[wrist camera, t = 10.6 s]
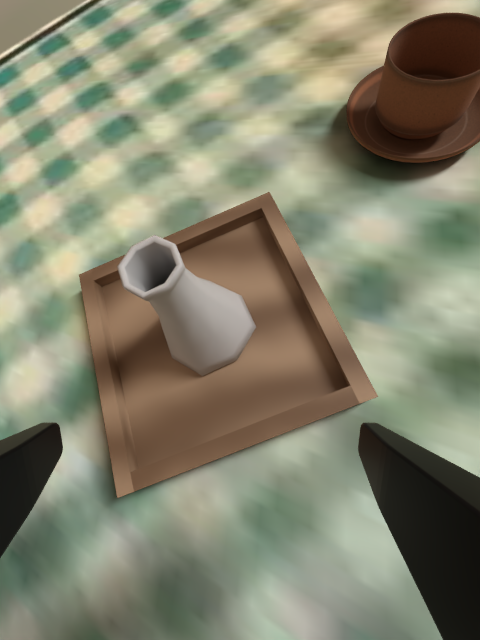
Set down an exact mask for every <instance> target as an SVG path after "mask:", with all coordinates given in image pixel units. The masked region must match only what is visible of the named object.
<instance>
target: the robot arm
mask: <svg viewBox="0 0 480 640" xmlns="http://www.w3.org/2000/svg"><path fill="white" fill-rule="evenodd" d="M62 450H63V445H62V439H61V433H60V427H59V425H58V424H57V423H40V424H38V425H36V426H33V427H31V428H29V429H26V430H24V431H22V432H19V433H17V434H14V435H12V436H10V437H7V438H5V439H3V440H0V558H1V556H2V555H3V553H4V552H5V550H6V549H7V547H8V546H9V544H10V542H11V541H12V539H13V538H14V536H15V535H16V533H17V532H18V530H19V529H20V527H21V526H22V524H23V523H24V521H25V519H26V518H27V516H28V515H29V513H30V512H31V510H32V508H33V507H34V505H35V503H36V501H37V500H38V498H39V496H40V494H41V492H42V490H43V489H44V487H45V485H46V483H47V481H48V479H49V477H50V475H51V474H52V472H53V470H54V468H55V466H56V464H57V462H58V460H59V459H60V457H61V454H62ZM358 451H359V456H360V458H361V461H362V464H363V467H364V469H365V472H366V475H367V477H368V480H369V483H370V486H371V488H372V491H373V494H374V496H375V499H376V501H377V504H378V506H379V509H380V511H381V513H382V515H383V517H384V519H385V521H386V523H387V525H388V527H389V530H390V532H391V534H392V536H393V538H394V540H395V542H396V544H397V546H398V548H399V550H400V552H401V554H402V556H403V558H404V560H405V562H406V564H407V566H408V569H409V571H410V573H411V575H412V577H413V579H414V581H415V583H416V585H417V587H418V589H419V591H420V593H421V595H422V597H423V599H424V601H425V603H426V606H427V608H428V610H429V612H430V614H431V616H432V618H433V620H434V622H435V624H436V626H437V628H438V630H439V632H440V634H441V636H442V638H443V640H480V478H479V477H478V476H476V475H474V474H472V473H470V472H468V471H466V470H464V469H462V468H461V467H459V466H457V465H455V464H453V463H451V462H449V461H447V460H445V459H444V458H442V457H440V456H438V455H436V454H434V453H432V452H430V451H429V450H427V449H425V448H423V447H421V446H419V445H417V444H415V443H413V442H412V441H410V440H408V439H406V438H404V437H402V436H400V435H398V434H396V433H395V432H393V431H391V430H389V429H387V428H385V427H383V426H381V425H380V424H378V423H363V424H362V425H361V428H360V436H359V445H358Z"/></svg>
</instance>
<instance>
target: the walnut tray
mask: <svg viewBox="0 0 480 640" xmlns="http://www.w3.org/2000/svg"><path fill="white" fill-rule="evenodd" d="M163 239H165V240H167V241H169V242H172V243H174V244H175V245H176V246H177V248H178V251H179V253H180V256H181V258H182V261H183V263H184V266H185V268H186V269H187V270H189V271H190V272H191V273H193V274H194V275H195V276H196V277H199V278H202V279H205V280H208V281H211V282H213V283H215V284H217V285H220V286H222V287H224V288H226V289H228V290H230V291H232V292H234V293H237V294H239V295H241V296H242V298H243V300H244V302H245V304H246V306H247V308H248V310H249V313H250V315H251V317H252V319H253V321H254V323H255V325H256V328H255V330H254V332H253V333H252V335H251V337H250V339H249V340H248V342H247V344H246V346H245V347H244V349H243V351H242V353H241V354H240V356H239V358H238V360H236V361H234V362H232V363H230V364H227V365H225V366H223V367H221V368H219V369H217V370H214V371H212V372H210V373H208V374H206V375H204V376H201V375H200V374H198V373H196V372H195V371H193V370H191V369H190V368H188V367H186V366H185V365H183V364H181V363H180V362H178V361H176V360H175V359H173V358H172V356H171V353H170V350H169V347H168V344H167V341H166V338H165V335H164V332H163V329H162V326H161V323H160V319H159V316H158V314H157V313H156V311H155V310H154V308H153V307H152V305H151V304H150V302H149V301H145V300H143V299H141V298H140V297H138V296H136V295H134V294H132V293H130V292H129V291H127V290H125V289H124V288H123V286H122V282H121V279H120V275H119V272H118V268H117V266H118V265H119V263H120V262H121V260H122V259H123V258H124V256H125V255H123V256H121V257H119V258H116V259H114V260H112V261H110V262H107V263H105V264H103V265H100V266H98V267H96V268H93V269H91V270H89V271H87V272H84V273H82V274H80V275H79V277H80V283H81V289H82V295H83V301H84V307H85V312H86V318H87V324H88V330H89V336H90V342H91V347H92V353H93V359H94V365H95V371H96V377H97V382H98V388H99V394H100V400H101V406H102V412H103V417H104V423H105V429H106V435H107V441H108V447H109V452H110V458H111V464H112V470H113V476H114V482H115V487H116V493H117V498H119V497H121V496H124V495H127V494H129V493H132V492H134V491H137V490H139V489H142V488H145V487H147V486H150V485H152V484H155V483H157V482H160V481H163V480H165V479H168V478H170V477H173V476H175V475H178V474H180V473H183V472H186V471H188V470H191V469H193V468H196V467H198V466H201V465H204V464H206V463H209V462H211V461H214V460H216V459H219V458H222V457H224V456H227V455H229V454H232V453H234V452H237V451H239V450H242V449H245V448H247V447H250V446H252V445H255V444H257V443H260V442H263V441H265V440H268V439H270V438H273V437H275V436H278V435H281V434H283V433H286V432H288V431H291V430H293V429H296V428H299V427H301V426H304V425H306V424H309V423H311V422H314V421H316V420H319V419H322V418H324V417H327V416H329V415H332V414H334V413H337V412H340V411H342V410H345V409H347V408H350V407H352V406H355V405H358V404H360V403H363V402H365V401H368V400H370V399H373V398H376V397H378V396H377V394H376V392H375V390H374V388H373V386H372V384H371V382H370V381H369V379H368V377H367V375H366V373H365V371H364V369H363V367H362V365H361V364H360V362H359V360H358V358H357V356H356V354H355V352H354V350H353V349H352V347H351V345H350V343H349V341H348V339H347V337H346V335H345V333H344V332H343V330H342V328H341V326H340V324H339V322H338V320H337V318H336V316H335V315H334V313H333V311H332V309H331V307H330V305H329V303H328V301H327V299H326V298H325V296H324V294H323V292H322V290H321V288H320V286H319V284H318V283H317V281H316V279H315V277H314V275H313V273H312V271H311V269H310V267H309V266H308V264H307V262H306V260H305V258H304V256H303V254H302V252H301V250H300V249H299V247H298V245H297V243H296V241H295V239H294V237H293V235H292V234H291V232H290V230H289V228H288V226H287V224H286V222H285V220H284V218H283V217H282V215H281V213H280V211H279V209H278V207H277V205H276V203H275V201H274V200H273V198H272V196H271V194H270V192H268V193H266V194H263V195H261V196H259V197H257V198H254V199H252V200H250V201H247V202H245V203H243V204H240V205H238V206H236V207H234V208H231V209H229V210H227V211H224V212H222V213H220V214H218V215H215V216H213V217H211V218H208V219H206V220H204V221H201V222H199V223H197V224H195V225H192V226H190V227H188V228H185V229H183V230H181V231H178V232H176V233H174V234H172V235H169V236H167V237H165V238H163Z"/></svg>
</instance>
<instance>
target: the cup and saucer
mask: <svg viewBox="0 0 480 640" xmlns="http://www.w3.org/2000/svg"><path fill="white" fill-rule="evenodd" d="M346 112H347V122H348V126H349V129H350V131H351V133H352V135H353V136H354V137H355V139H356V140H357V141H358V142H359V143H360V144H361V145H362V146H364V147H365V148H366V149H368V150H369V151H371V152H373V153H374V154H377V155H379V156H381V157H384V158H387V159H390V160H394V161H399V162H409V163H421V162H430V161H437V160H441V159H446V158H449V157H452V156H455V155H457V154H460V153H462V152H464V151H466V150H468V149H469V148H471V147H473V146H474V145H475V144H477V143H478V142H479V141H480V18H479V17H476V16H473V15H469V14H463V13H441V14H434V15H430V16H426V17H423V18H420V19H417V20H415V21H413V22H411V23H409V24H407V25H406V26H404V27H403V28H402V29H400V30H399V31H398V32H397V33H396V34H395V35H394V37H393V38H392V40H391V41H390V44H389V47H388V51H387V55H386V59H385V64H384V66H382V67H380V68H378V69H376V70H375V71H373V72H371V73H370V74H369V75H367V76H366V77H365V78H364V79H362V80H361V81H360V82H359V83H358V85H357V86H356V87H355V88H354V90H353V91H352V93H351V95H350V97H349V100H348V103H347V111H346Z"/></svg>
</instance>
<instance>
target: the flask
mask: <svg viewBox="0 0 480 640" xmlns="http://www.w3.org/2000/svg"><path fill="white" fill-rule="evenodd" d="M117 268H118V272H119V275H120V279H121V282H122V286H123V288H124V289H125V290H127V291H129V292H130V293H132V294H134V295H136V296H138V297H140V298H141V299H143V300H145V301H149V302H150V304H151V305H152V307H153V308H154V310H155V311H156V313H157V314H158V316H159V319H160V323H161V326H162V329H163V332H164V335H165V338H166V341H167V344H168V347H169V350H170V353H171V356H172V358H173V359H175V360H176V361H178V362H180V363H181V364H183V365H185V366H186V367H188V368H190V369H191V370H193V371H195V372H196V373H198V374H200V375H201V376H204V375H206V374H208V373H210V372H212V371H214V370H217V369H219V368H221V367H223V366H225V365H227V364H230V363H232V362H234V361H236V360H238V358H239V356H240V354H241V353H242V351H243V349H244V347H245V346H246V344H247V342H248V340H249V339H250V337H251V335H252V333H253V332H254V330H255V328H256V325H255V323H254V321H253V319H252V317H251V315H250V313H249V310H248V308H247V306H246V304H245V302H244V300H243V298H242V296H241V295H239V294H237V293H234V292H232V291H230V290H228V289H226V288H224V287H222V286H220V285H217V284H215V283H213V282H211V281H208V280H205V279H202V278H199V277H196V276H195V275H194V274H193V273H191V272H190V271H189V270H187V269H186V268H185V266H184V263H183V261H182V258H181V256H180V253H179V251H178V248H177V246H176V245H175V244H174V243H172V242H169V241H167V240H165V239H163V238H160V237H158V236H156V235H154V236H151V237H149V238H147V239H145V240H143V241H141V242H139V243H137V244H135V245H133V246H131V248H130V249H129V251H128V252H127V253H126V255H125V256H124V258H123V259H122V260H121V262H120V263H119V265H118V266H117Z"/></svg>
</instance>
